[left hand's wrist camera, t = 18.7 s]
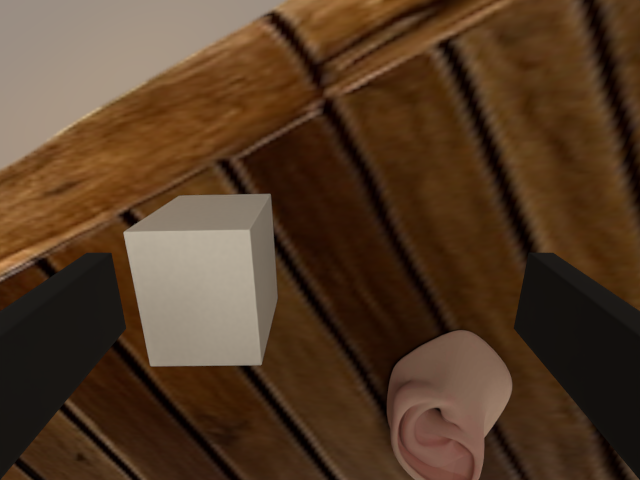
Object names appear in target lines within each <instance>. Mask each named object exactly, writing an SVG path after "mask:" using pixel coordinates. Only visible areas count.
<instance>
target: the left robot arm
mask: <svg viewBox="0 0 640 480" xmlns="http://www.w3.org/2000/svg"><path fill="white" fill-rule="evenodd" d="M125 329H126V325H125V320H124V315H123V310H122V305H121V300H120V295H119V290H118V285H117V279H116V274H115V269H114V264H113V259H112V254H111V253H86V254H84V255H83V256H82V257H80V258H79V259H77V260H76V261H74V262H73V263H71V264H70V265H68V266H67V267H65V268H64V269H62V270H61V271H59V272H58V273H56V274H55V275H53V276H52V277H50V278H49V279H47V280H46V281H45V282H43V283H42V284H40V285H39V286H37V287H36V288H34V289H33V290H31V291H30V292H28V293H27V294H25V295H24V296H22V297H21V298H19V299H18V300H16V301H15V302H13V303H12V304H10V305H9V306H7V307H6V308H5V309H3V310H2V311H0V479H1V478H2V477H3V476H4V475H5V473H6V472H7V471H8V470H9V469H10V467H11V466H12V465H13V464H14V463H15V461H16V460H17V459H18V458H19V457H20V455H21V454H22V453H23V452H24V451H25V449H26V448H27V447H28V446H29V445H30V443H31V442H32V441H33V440H34V439H35V437H36V436H37V435H38V434H39V433H40V431H41V430H42V429H43V428H44V427H45V425H46V424H47V423H48V422H49V421H50V419H51V418H52V417H53V416H54V415H55V413H56V412H57V411H58V410H59V408H60V407H61V406H62V405H63V404H64V402H65V401H66V400H67V399H68V398H69V396H70V395H71V394H72V393H73V392H74V390H75V389H76V388H77V387H78V386H79V384H80V383H81V382H82V381H83V380H84V378H85V377H86V376H87V375H88V374H89V372H90V371H91V370H92V369H93V368H94V366H95V365H96V364H97V363H98V362H99V360H100V359H101V358H102V357H103V356H104V354H105V353H106V352H107V351H108V350H109V348H110V347H111V346H112V345H113V344H114V342H115V341H116V340H117V339H118V338H119V336H120V335H121V334H122V333H123V332H124V330H125ZM514 329H515V330H516V332H517V333H518V334H519V335H520V336H521V338H522V339H523V340H524V341H525V342H526V344H527V345H528V346H529V347H530V348H531V350H532V351H533V352H534V353H535V354H536V356H537V357H538V358H539V359H540V360H541V362H542V363H543V364H544V365H545V366H546V368H547V369H548V370H549V371H550V372H551V374H552V375H553V376H554V377H555V378H556V380H557V381H558V382H559V383H560V384H561V386H562V387H563V388H564V389H565V390H566V392H567V393H568V394H569V395H570V396H571V398H572V399H573V400H574V401H575V402H576V404H577V405H578V406H579V407H580V408H581V410H582V411H583V412H584V413H585V415H586V416H587V417H588V418H589V419H590V421H591V422H592V423H593V424H594V425H595V427H596V428H597V429H598V430H599V431H600V433H601V434H602V435H603V436H604V437H605V439H606V440H607V441H608V442H609V443H610V445H611V446H612V447H613V448H614V449H615V451H616V452H617V453H618V454H619V455H620V457H621V458H622V459H623V460H624V461H625V463H626V464H627V465H628V466H629V467H630V469H631V470H632V471H633V472H634V473H635V475H636V476H637V477H638V478H639V479H640V311H638V310H637V309H635V308H634V307H633V306H631V305H630V304H628V303H627V302H625V301H624V300H622V299H621V298H619V297H618V296H616V295H615V294H613V293H612V292H610V291H609V290H607V289H606V288H604V287H603V286H601V285H600V284H598V283H597V282H595V281H594V280H593V279H591V278H590V277H588V276H587V275H585V274H584V273H582V272H581V271H579V270H578V269H576V268H575V267H573V266H572V265H570V264H569V263H567V262H566V261H564V260H563V259H561V258H560V257H558V256H557V255H556V254H554V253H529V254H528V259H527V264H526V269H525V274H524V279H523V285H522V290H521V295H520V300H519V305H518V310H517V315H516V320H515V325H514Z"/></svg>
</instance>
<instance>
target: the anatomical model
mask: <svg viewBox="0 0 640 480" xmlns="http://www.w3.org/2000/svg"><path fill="white" fill-rule="evenodd" d="M511 391H512V380H511V376H510V373H509V371H508V369H507V367H506V365H505V364H504V362H503V361H502V359H501V358H500V357H499V356H498V354H497V353H496V352H495V351H494V350H493V349H492V348H491V347H490V346H489V345H488V344H487V343H486V342H485V341H484V340H482V339H481V338H480V337H479V336H477V335H475V334H474V333H472V332H469V331H465V330H457V331H453V332H449V333H447V334H444V335H442V336H439V337H437V338H435V339H433V340H431V341H429V342H427V343H425V344H423V345H421V346H420V347H418V348H416V349H415V350H413V351H412V352H410V353H409V354H408V355H406V356H405V357H403V358H402V359H401V360H400V361H399V362H398V363H397V364H396V365H395V367H394V369H393V371H392V374H391V377H390V382H389V388H388V395H387V417H388V422H389V426H390V438H391V445H392V449H393V452H394V454H395V456H396V458H397V460H398V462H399V463H400V464H401V466H402V467H403V468H404V469H405V471H406V472H407V473H408V474H409V475H410V476H411V477H412V478H414V479H415V480H478V479H479V477H480V474H481V470H482V465H483V459H484V437H485V436H486V435H487V433H488V432H489V431H490V429H491V428H492V426H493V425H494V424H495V422H496V421H497V419H498V418H499V416H500V414H501V413H502V411H503V410H504V408H505V406H506V404H507V402H508V400H509V398H510V395H511Z"/></svg>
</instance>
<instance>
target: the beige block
mask: <svg viewBox="0 0 640 480" xmlns="http://www.w3.org/2000/svg"><path fill="white" fill-rule="evenodd" d="M124 237H125V242H126V247H127V252H128V257H129V262H130V267H131V272H132V277H133V282H134V287H135V292H136V297H137V302H138V307H139V312H140V317H141V322H142V327H143V332H144V337H145V342H146V347H147V352H148V357H149V362H150V366H223V365H262V361H263V357H264V353H265V349H266V344H267V340H268V336H269V332H270V328H271V324H272V320H273V316H274V312H275V307H276V303H277V299H278V295H277V280H276V265H275V249H274V234H273V219H272V204H271V194H241V195H190V196H178V197H177V198H175V199H173V200H172V201H170V202H169V203H167V204H166V205H164V206H163V207H161V208H160V209H158V210H157V211H155V212H154V213H152V214H150V215H149V216H147V217H146V218H144V219H143V220H141V221H140V222H138V223H137V224H135V225H134V226H132V227H131V228H129V229H128V230H126V231H124Z"/></svg>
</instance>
